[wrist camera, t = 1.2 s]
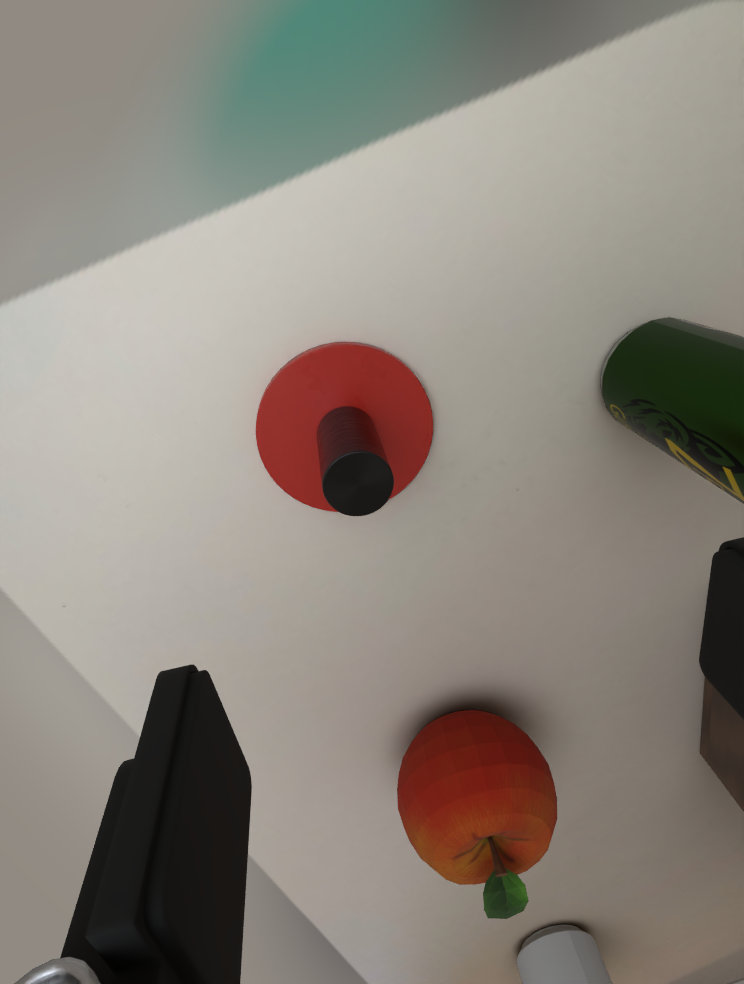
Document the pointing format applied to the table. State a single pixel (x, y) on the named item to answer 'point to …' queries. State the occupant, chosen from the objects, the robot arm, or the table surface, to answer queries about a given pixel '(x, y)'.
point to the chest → (723, 742)
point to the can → (561, 958)
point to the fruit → (478, 804)
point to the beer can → (682, 395)
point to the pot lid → (344, 427)
